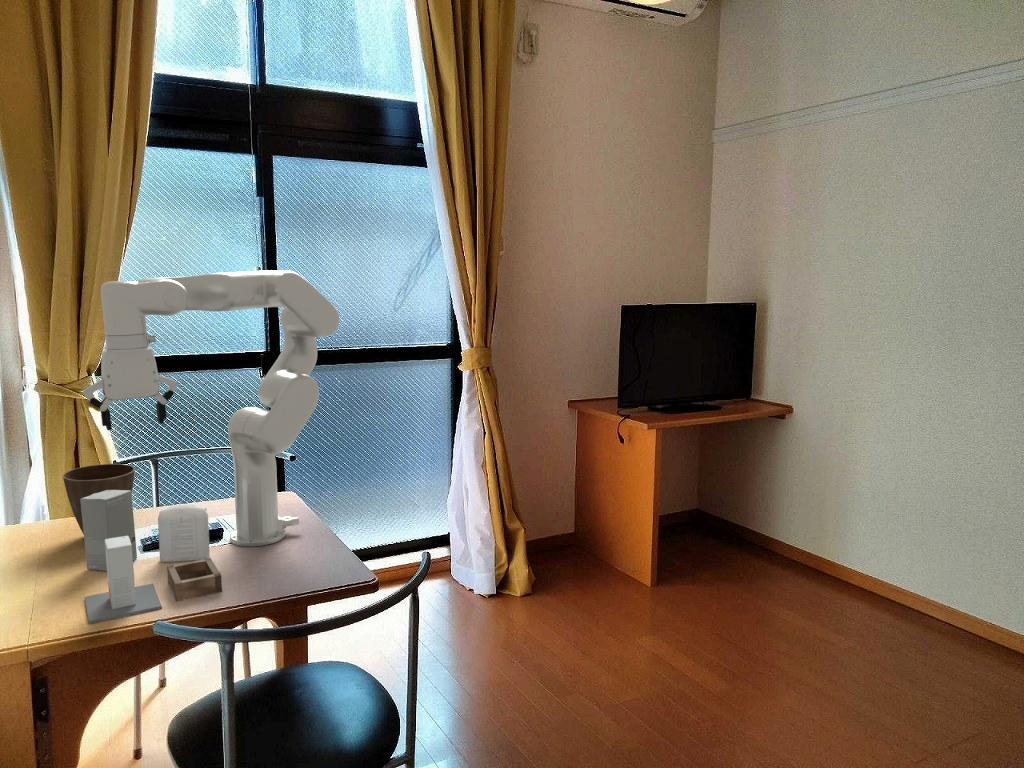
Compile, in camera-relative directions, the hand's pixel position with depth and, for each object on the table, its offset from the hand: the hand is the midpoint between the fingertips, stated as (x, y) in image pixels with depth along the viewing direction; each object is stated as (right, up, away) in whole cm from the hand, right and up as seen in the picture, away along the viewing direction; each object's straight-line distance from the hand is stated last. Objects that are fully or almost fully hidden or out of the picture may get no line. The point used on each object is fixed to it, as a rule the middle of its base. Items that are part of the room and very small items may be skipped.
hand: (135, 425), depth 152 cm
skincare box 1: (-10, -31, +9) cm, 33 cm away
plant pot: (-20, -28, +25) cm, 43 cm away
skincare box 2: (+3, -33, -11) cm, 35 cm away
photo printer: (+5, -30, +12) cm, 33 cm away
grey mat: (+3, -34, -10) cm, 35 cm away
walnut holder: (+13, -32, -2) cm, 35 cm away
